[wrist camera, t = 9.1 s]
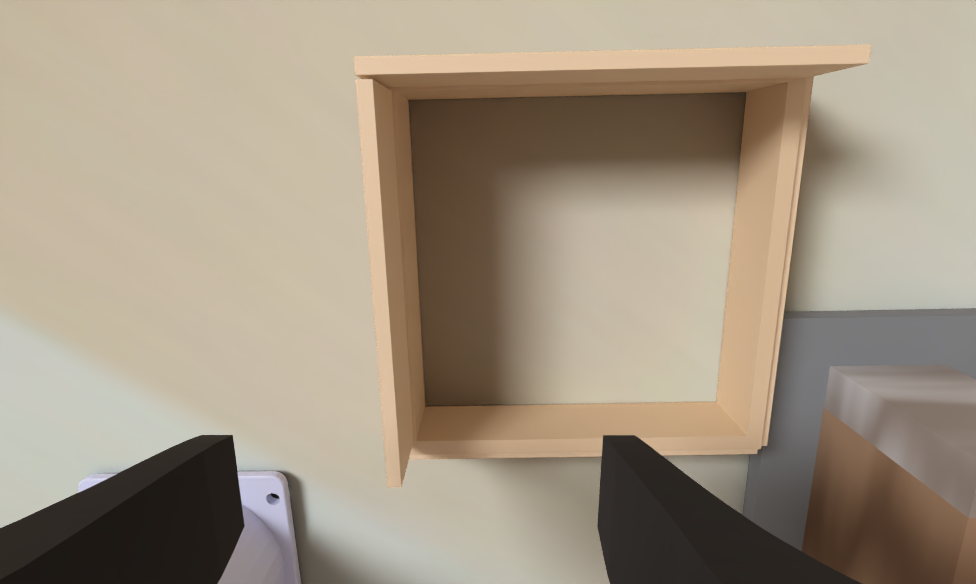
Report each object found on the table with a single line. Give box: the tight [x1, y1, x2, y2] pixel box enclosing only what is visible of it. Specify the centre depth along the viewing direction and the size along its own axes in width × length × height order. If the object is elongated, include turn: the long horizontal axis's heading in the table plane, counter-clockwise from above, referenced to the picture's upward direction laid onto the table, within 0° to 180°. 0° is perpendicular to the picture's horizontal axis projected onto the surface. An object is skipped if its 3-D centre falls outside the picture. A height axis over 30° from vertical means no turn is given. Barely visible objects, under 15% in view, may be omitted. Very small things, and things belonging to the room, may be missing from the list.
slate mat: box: [743, 308, 976, 551], centre depth 20 cm, size 12×8×1 cm, turn 1°
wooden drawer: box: [354, 45, 871, 487], centre depth 16 cm, size 12×12×5 cm
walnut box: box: [802, 364, 976, 584], centre depth 17 cm, size 8×4×6 cm, turn 1°
